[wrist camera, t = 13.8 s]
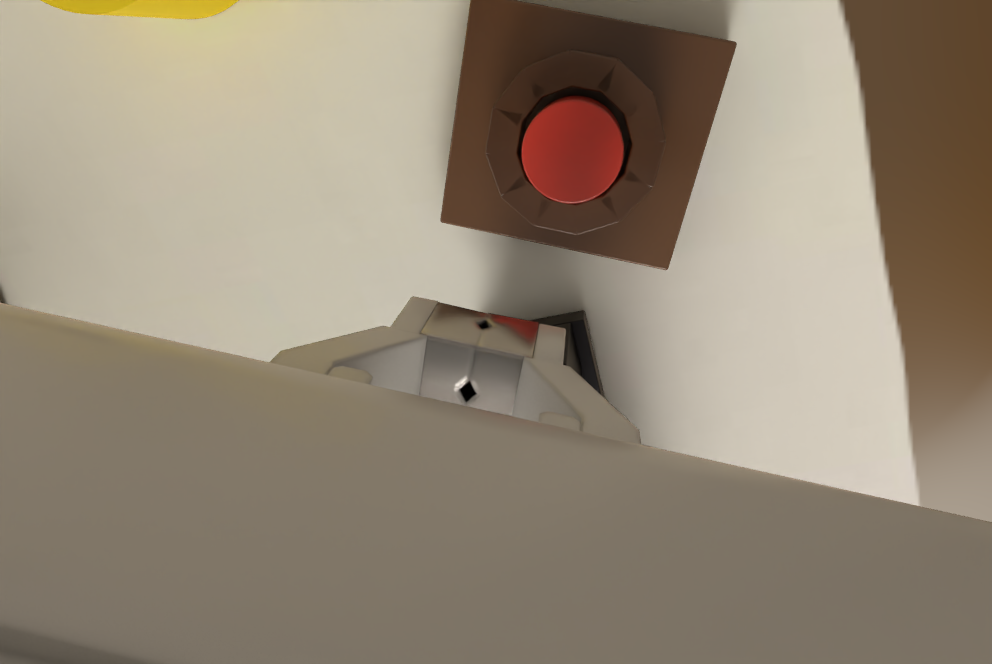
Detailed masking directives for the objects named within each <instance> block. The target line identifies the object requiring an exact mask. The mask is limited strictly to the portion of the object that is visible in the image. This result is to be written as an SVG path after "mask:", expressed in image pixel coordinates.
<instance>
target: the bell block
mask: <svg viewBox="0 0 992 664" xmlns="http://www.w3.org/2000/svg"><path fill="white" fill-rule="evenodd" d="M736 45H737V44H736V42H734V41H729V40H724V39H718V38H713V37H708V36H702V35H697V34H692V33H687V32H681V31H676V30H671V29H665V28H660V27H655V26H649V25H644V24H639V23H633V22H628V21H623V20H617V19H612V18H607V17H602V16H596V15H591V14H586V13H580V12H575V11H570V10H564V9H559V8H554V7H548V6H543V5H538V4H533V3H527V2H522V1H517V0H471V1H470V8H469V16H468V23H467V30H466V37H465V45H464V52H463V59H462V67H461V74H460V81H459V88H458V96H457V103H456V110H455V118H454V125H453V132H452V139H451V147H450V154H449V161H448V169H447V176H446V183H445V190H444V198H443V205H442V212H441V222H442V223H447V224H452V225H456V226H461V227H466V228H470V229H475V230H480V231H484V232H489V233H494V234H499V235H503V236H508V237H513V238H517V239H522V240H527V241H531V242H536V243H541V244H546V245H550V246H555V247H560V248H564V249H569V250H574V251H578V252H583V253H588V254H592V255H597V256H602V257H607V258H611V259H616V260H621V261H625V262H630V263H635V264H639V265H644V266H649V267H654V268H658V269H663V270H667V269H668V267H669V264H670V261H671V257H672V254H673V251H674V248H675V244H676V241H677V238H678V235H679V231H680V228H681V225H682V222H683V218H684V215H685V212H686V208H687V205H688V202H689V199H690V195H691V192H692V189H693V186H694V182H695V179H696V176H697V173H698V169H699V166H700V163H701V159H702V156H703V153H704V150H705V146H706V143H707V140H708V137H709V133H710V130H711V127H712V124H713V120H714V117H715V114H716V110H717V107H718V104H719V101H720V97H721V94H722V91H723V88H724V84H725V81H726V78H727V75H728V71H729V68H730V65H731V61H732V58H733V55H734V52H735V48H736ZM568 96H584V97H588V98H592V99H594V100H596V101H598V102H600V103H601V104H603V105H604V106H605V107H607V108H608V109H609V110H610V111H611V112H612V114H613V115H614V117H615V118H616V120H617V122H618V124H619V126H620V129H621V133H622V138H623V145H624V156H623V162H622V166H621V169H620V171H619V173H618V175H617V177H616V179H615V180H614V182H613V183H612V184H611V186H610V187H609V188H608V189H607V190H606V191H605V192H603V193H602V194H600V195H599V196H597V197H595V198H594V199H591V200H589V201H586V202H582V203H575V204H567V203H561V202H557V201H554V200H552V199H549V198H547V197H546V196H544V195H543V194H541V193H540V192H539V191H538V190H537V189H536V188H535V187H534V186H533V185H532V183H531V182H530V181H529V179H528V177H527V175H526V173H525V170H524V167H523V163H522V142H523V138H524V135H525V133H526V130H527V128H528V126H529V125H530V123H531V122H532V120H533V119H534V118H535V117H536V115H537V114H538V113H539V112H540V111H541V110H542V109H543V108H544V107H546V106H547V105H548V104H550V103H551V102H553V101H555V100H557V99H560V98H563V97H568Z"/></svg>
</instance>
